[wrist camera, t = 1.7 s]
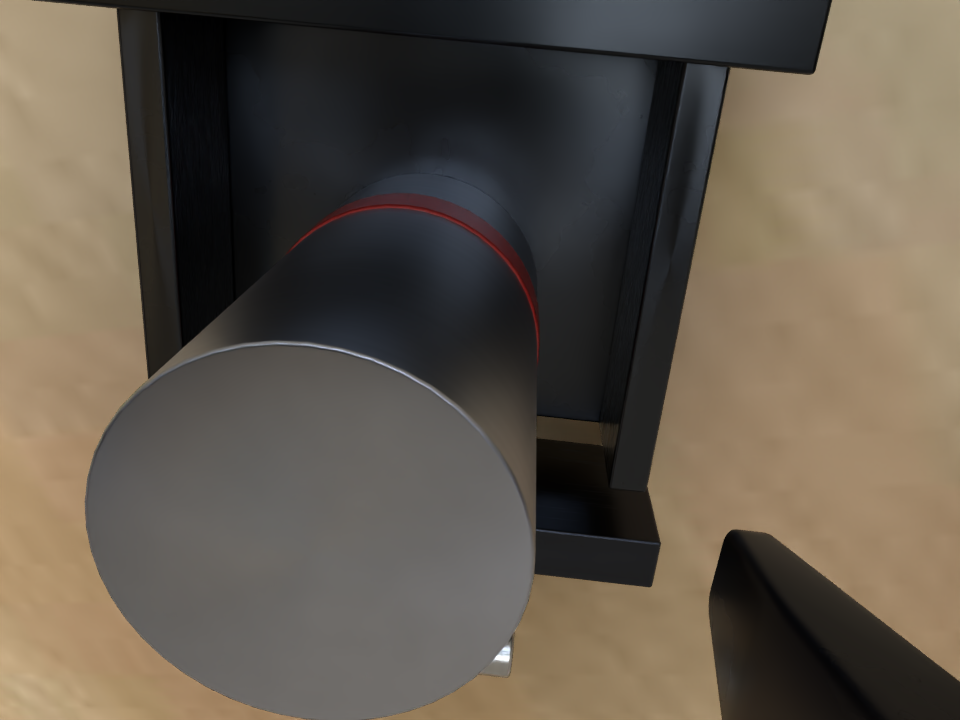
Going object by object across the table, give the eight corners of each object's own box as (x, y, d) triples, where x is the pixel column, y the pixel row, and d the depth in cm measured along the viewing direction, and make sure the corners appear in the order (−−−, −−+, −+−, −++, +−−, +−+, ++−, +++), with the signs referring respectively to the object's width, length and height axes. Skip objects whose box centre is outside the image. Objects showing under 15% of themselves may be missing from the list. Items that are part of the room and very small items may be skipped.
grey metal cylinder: (586, 304, 18) (635, 590, 9) (415, 430, 20) (306, 784, 11) (434, 119, 17) (307, 232, 8) (263, 270, 18) (-14, 515, 9)
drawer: (608, 612, 23) (621, 729, 19) (213, 566, 23) (149, 672, 19) (729, -24, 16) (786, -39, 12) (177, -75, 17) (71, -105, 13)
